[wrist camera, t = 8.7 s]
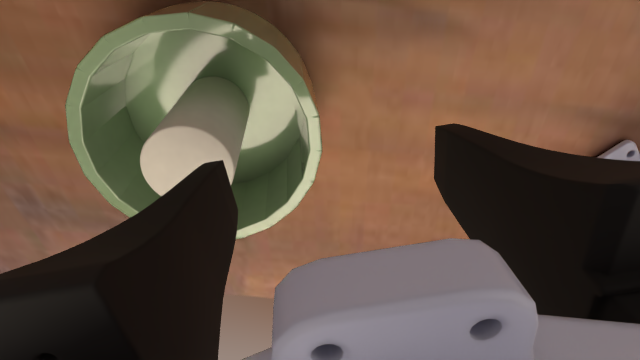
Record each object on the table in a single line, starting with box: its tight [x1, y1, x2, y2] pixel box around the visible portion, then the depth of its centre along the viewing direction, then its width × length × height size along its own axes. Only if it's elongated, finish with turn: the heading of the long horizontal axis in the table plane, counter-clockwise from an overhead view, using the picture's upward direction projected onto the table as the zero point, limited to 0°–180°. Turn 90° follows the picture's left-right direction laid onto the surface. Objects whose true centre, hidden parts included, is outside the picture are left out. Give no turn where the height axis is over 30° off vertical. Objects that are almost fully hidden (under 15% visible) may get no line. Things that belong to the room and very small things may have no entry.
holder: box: [65, 1, 322, 239], centre depth 19 cm, size 11×11×6 cm
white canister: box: [140, 77, 249, 196], centre depth 18 cm, size 4×4×7 cm
